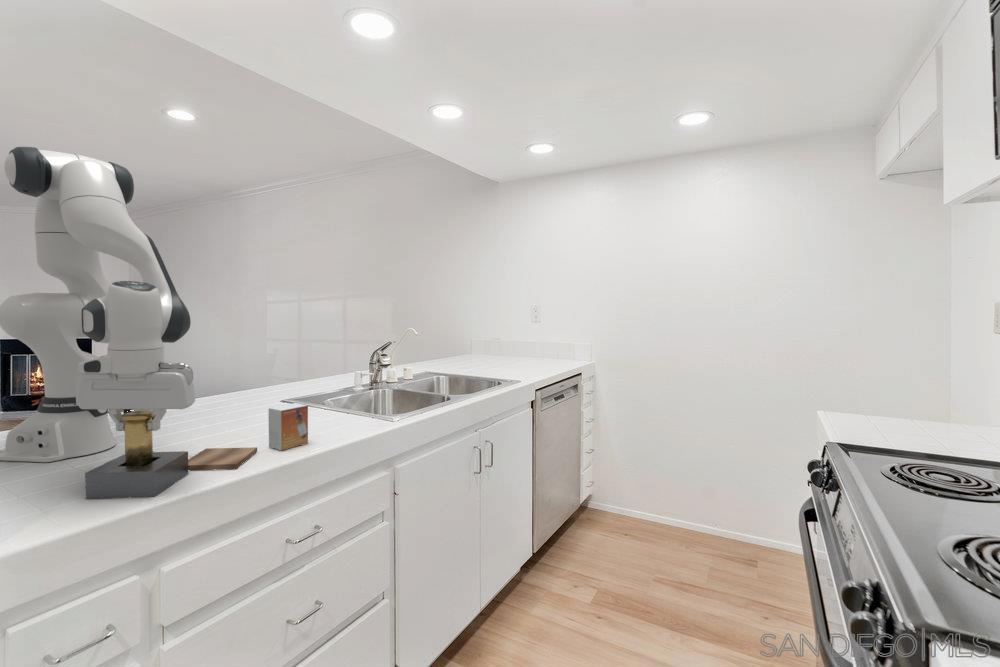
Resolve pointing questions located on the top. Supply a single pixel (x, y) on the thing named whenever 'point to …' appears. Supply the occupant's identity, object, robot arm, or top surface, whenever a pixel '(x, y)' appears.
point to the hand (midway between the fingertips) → (138, 430)
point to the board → (220, 458)
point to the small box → (288, 426)
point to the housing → (136, 476)
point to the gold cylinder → (138, 438)
